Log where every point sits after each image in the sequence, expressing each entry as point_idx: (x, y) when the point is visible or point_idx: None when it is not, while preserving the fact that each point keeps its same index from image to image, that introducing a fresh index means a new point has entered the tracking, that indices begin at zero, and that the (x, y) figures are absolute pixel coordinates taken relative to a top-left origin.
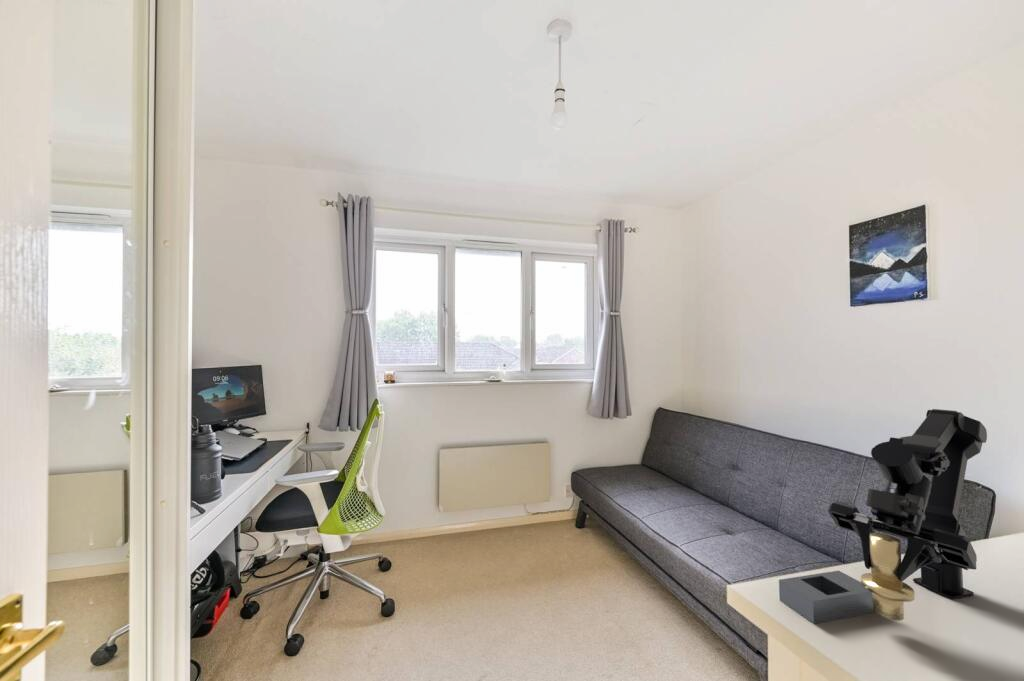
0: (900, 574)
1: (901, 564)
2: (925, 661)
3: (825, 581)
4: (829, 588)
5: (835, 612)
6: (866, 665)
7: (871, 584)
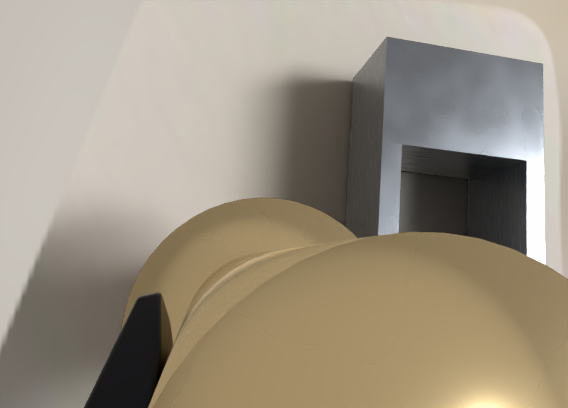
0: (139, 316)
1: (143, 399)
2: (97, 250)
3: None
4: None
5: (356, 173)
6: (160, 34)
7: (292, 221)
